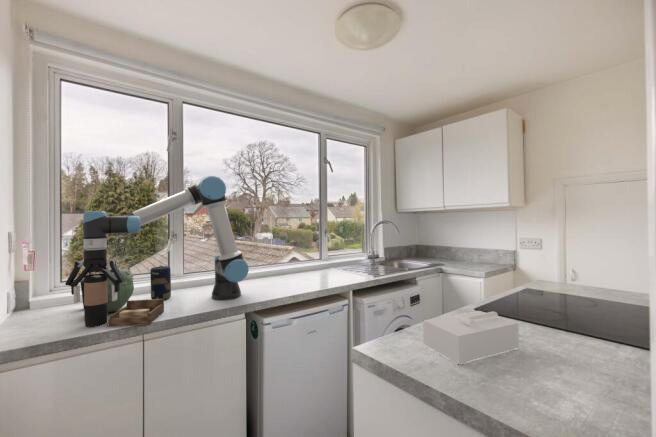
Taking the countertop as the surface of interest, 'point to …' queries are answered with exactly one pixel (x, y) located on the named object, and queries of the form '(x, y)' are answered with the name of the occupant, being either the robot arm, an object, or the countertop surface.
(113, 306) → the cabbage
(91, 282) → the travel mug
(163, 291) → the canister
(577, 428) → the countertop surface
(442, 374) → the countertop surface
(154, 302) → the wooden tray
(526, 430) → the countertop surface
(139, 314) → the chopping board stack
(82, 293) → the drinking cup
